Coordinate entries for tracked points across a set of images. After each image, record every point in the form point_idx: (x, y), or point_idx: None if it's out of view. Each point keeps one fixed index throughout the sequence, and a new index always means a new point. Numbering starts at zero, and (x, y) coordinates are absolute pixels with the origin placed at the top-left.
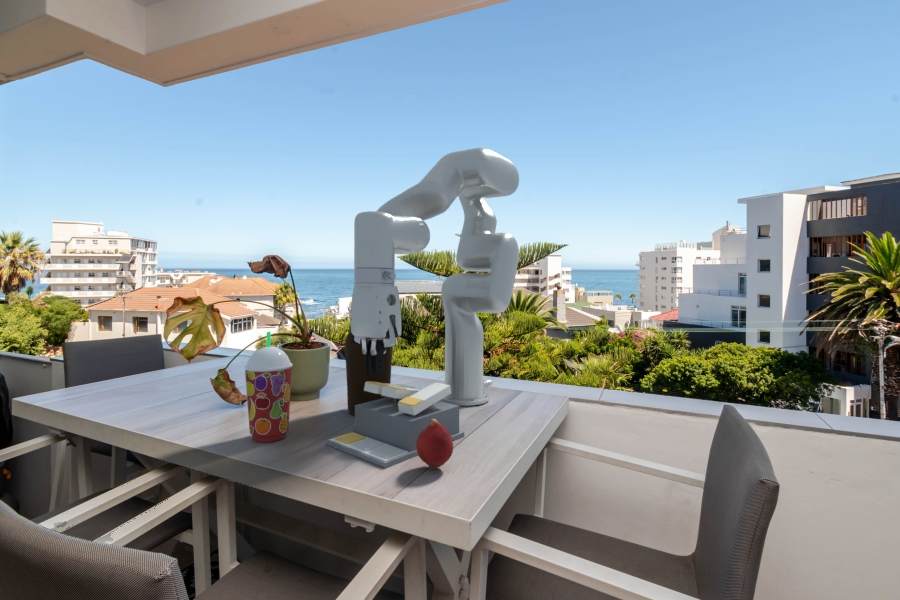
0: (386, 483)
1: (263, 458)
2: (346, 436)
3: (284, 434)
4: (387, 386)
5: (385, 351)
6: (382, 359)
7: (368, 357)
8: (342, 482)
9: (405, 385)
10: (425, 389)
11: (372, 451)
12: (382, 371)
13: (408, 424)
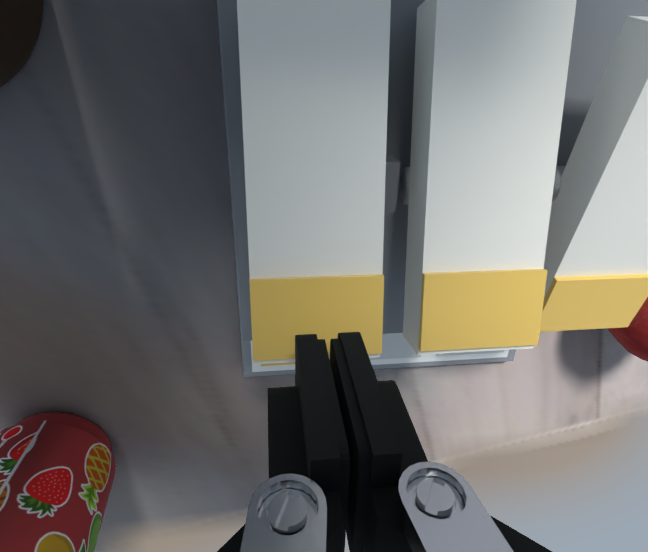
0: (554, 392)
1: (219, 497)
2: None
3: (93, 431)
4: (454, 349)
5: (469, 490)
6: (418, 442)
7: (351, 547)
8: (471, 443)
9: (303, 11)
10: (627, 166)
11: (444, 353)
12: (361, 345)
13: None
